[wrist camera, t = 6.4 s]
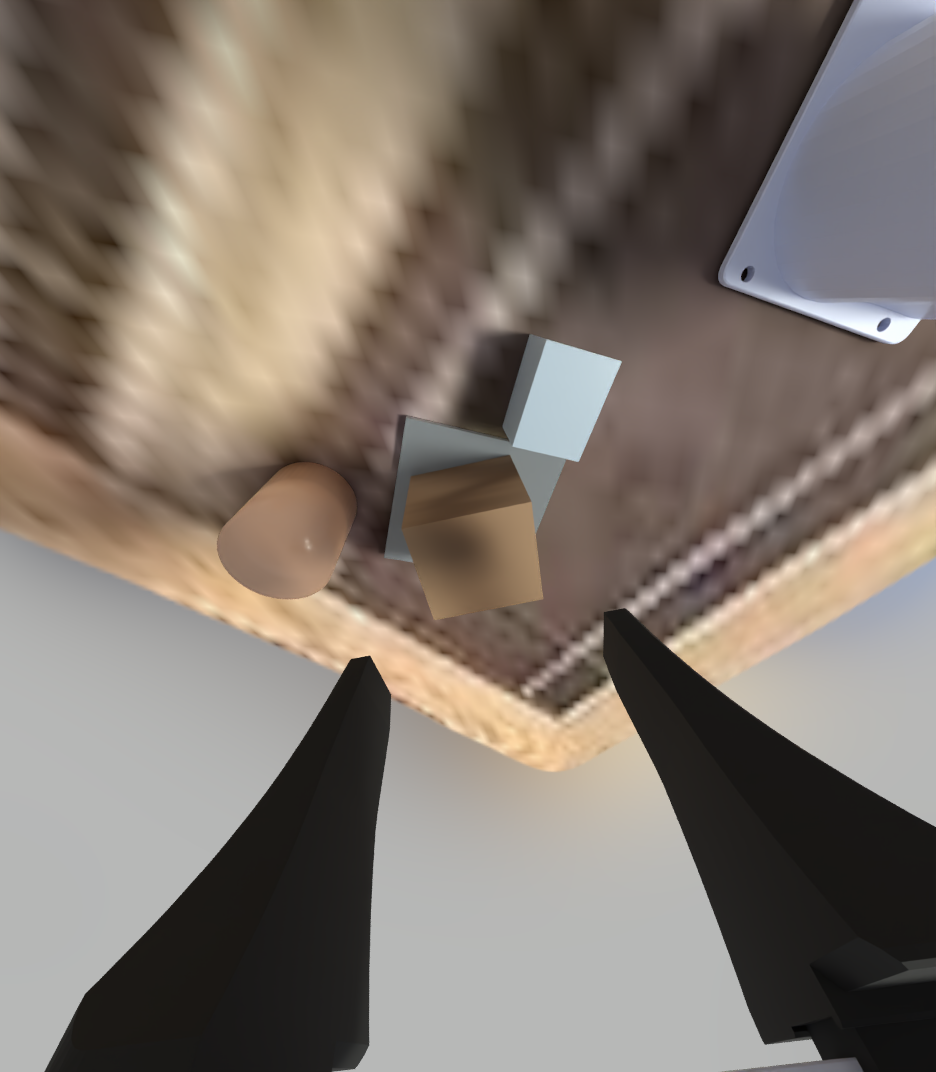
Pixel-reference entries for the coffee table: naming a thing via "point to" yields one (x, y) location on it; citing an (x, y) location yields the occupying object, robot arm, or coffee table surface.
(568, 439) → the blue plastic box
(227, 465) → the coffee table surface
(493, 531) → the walnut block
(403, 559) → the slate coaster
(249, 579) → the tan rounded cylinder
